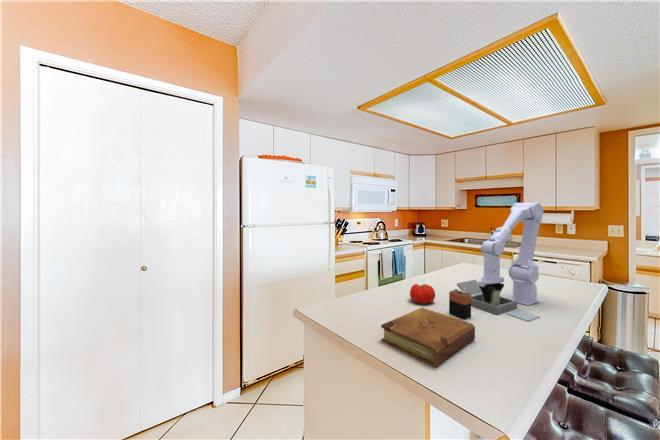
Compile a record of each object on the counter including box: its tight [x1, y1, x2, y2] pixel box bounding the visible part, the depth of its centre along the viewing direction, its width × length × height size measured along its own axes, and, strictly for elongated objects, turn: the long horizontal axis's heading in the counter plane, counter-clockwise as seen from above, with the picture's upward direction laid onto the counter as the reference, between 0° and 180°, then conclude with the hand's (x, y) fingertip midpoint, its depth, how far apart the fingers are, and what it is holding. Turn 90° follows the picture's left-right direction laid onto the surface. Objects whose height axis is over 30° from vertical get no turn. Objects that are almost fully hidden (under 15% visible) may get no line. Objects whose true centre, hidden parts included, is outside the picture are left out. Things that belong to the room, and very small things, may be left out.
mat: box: [505, 308, 541, 322], centre depth 102 cm, size 8×8×1 cm
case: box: [456, 279, 518, 316], centre depth 114 cm, size 14×18×8 cm
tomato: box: [409, 283, 436, 305], centre depth 118 cm, size 11×11×8 cm
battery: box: [448, 288, 472, 320], centre depth 102 cm, size 4×7×10 cm, turn 28°
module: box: [482, 289, 501, 306], centre depth 111 cm, size 4×4×8 cm
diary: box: [380, 307, 476, 368], centre depth 83 cm, size 23×19×6 cm
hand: (491, 300), depth 111 cm, fingers closed on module, 4 cm apart
